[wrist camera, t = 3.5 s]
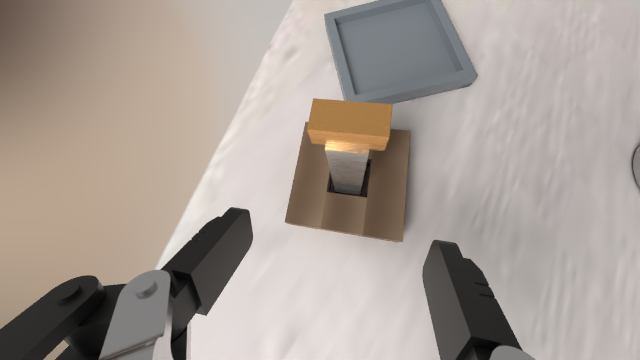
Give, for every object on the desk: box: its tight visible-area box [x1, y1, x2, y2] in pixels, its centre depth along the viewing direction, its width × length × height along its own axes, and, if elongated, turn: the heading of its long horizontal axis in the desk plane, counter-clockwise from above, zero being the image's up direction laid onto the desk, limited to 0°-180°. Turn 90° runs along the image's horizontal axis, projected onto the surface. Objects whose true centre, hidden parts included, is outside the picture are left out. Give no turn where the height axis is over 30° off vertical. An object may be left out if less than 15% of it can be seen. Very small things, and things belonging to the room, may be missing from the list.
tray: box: [324, 0, 478, 104], centre depth 25 cm, size 13×13×2 cm
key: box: [307, 99, 392, 195], centre depth 17 cm, size 4×2×12 cm, turn 80°
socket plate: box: [285, 122, 410, 242], centre depth 21 cm, size 10×10×2 cm
